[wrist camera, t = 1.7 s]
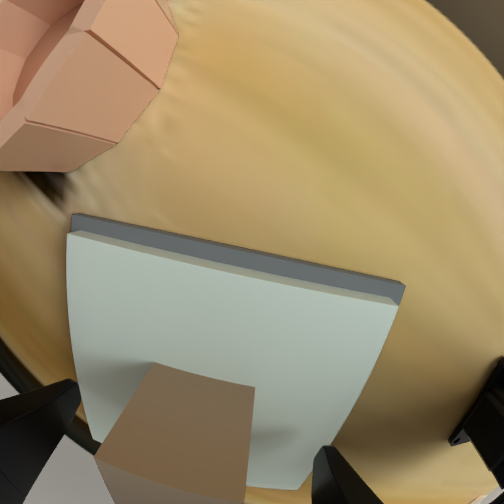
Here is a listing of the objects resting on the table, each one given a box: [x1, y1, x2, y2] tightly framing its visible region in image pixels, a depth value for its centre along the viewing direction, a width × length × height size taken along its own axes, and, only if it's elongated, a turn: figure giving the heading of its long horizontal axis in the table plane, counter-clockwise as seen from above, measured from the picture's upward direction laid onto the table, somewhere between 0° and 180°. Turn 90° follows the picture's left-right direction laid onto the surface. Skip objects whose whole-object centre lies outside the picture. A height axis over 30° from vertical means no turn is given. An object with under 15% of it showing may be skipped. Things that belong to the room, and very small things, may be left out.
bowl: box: [0, 0, 179, 172], centre depth 6 cm, size 9×9×4 cm
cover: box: [66, 230, 399, 504], centre depth 7 cm, size 11×11×5 cm
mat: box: [71, 213, 406, 306], centre depth 10 cm, size 12×12×1 cm
